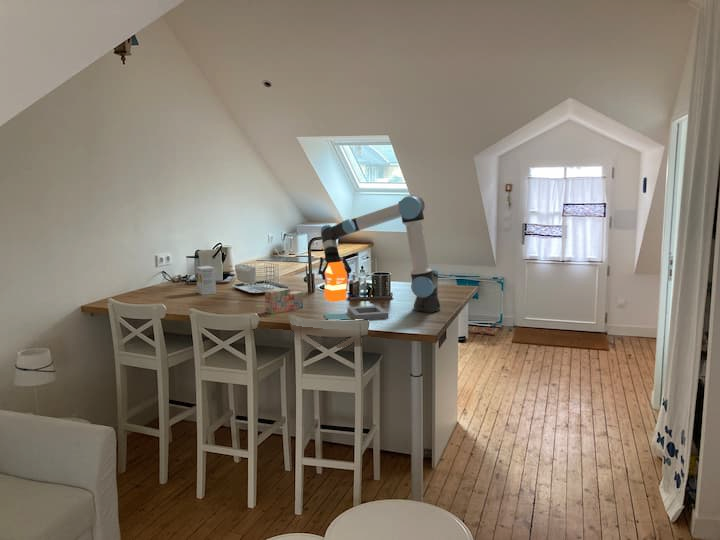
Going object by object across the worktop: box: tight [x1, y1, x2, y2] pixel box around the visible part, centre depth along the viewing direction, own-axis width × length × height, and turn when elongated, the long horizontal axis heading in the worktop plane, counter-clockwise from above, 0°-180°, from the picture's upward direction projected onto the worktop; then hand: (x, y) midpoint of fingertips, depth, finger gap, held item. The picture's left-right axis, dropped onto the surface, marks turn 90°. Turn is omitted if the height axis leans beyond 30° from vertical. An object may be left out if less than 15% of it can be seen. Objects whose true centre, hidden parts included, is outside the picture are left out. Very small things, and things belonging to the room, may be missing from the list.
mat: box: [323, 312, 351, 320], centre depth 317 cm, size 12×12×1 cm
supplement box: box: [195, 265, 217, 296], centre depth 380 cm, size 10×9×17 cm
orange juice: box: [324, 261, 347, 303], centre depth 314 cm, size 8×9×20 cm
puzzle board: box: [346, 305, 389, 321], centre depth 321 cm, size 18×18×3 cm
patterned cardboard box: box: [264, 287, 304, 315], centre depth 333 cm, size 21×6×12 cm, turn 133°
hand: (337, 283), depth 311 cm, fingers closed on orange juice, 10 cm apart
